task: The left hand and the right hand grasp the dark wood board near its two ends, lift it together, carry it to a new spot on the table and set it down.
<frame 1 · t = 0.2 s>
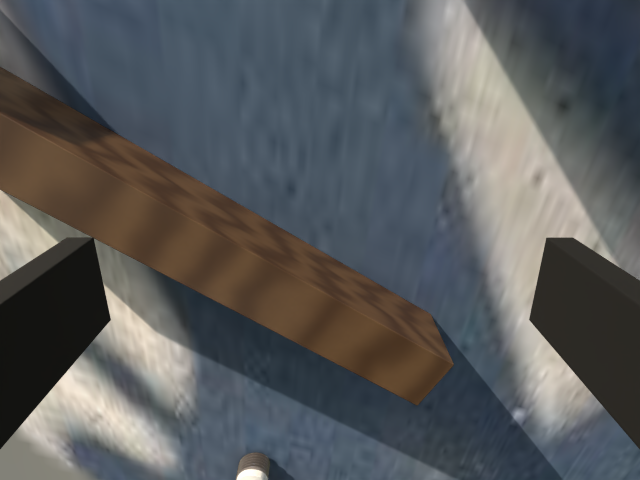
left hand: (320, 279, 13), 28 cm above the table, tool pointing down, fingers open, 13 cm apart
light bulb: (255, 463, 53), on the table
board: (171, 196, 40), on the table
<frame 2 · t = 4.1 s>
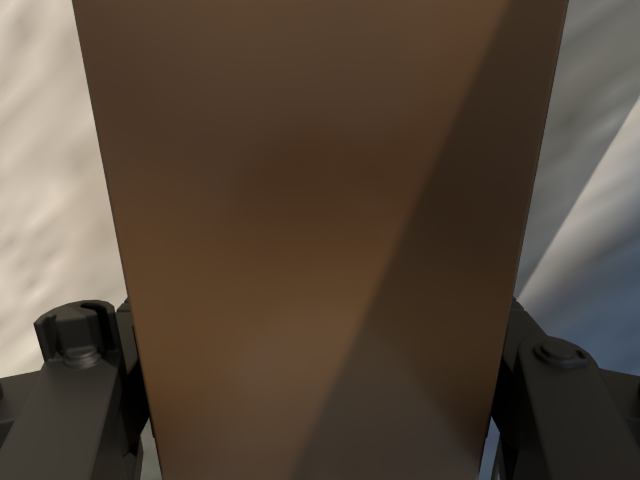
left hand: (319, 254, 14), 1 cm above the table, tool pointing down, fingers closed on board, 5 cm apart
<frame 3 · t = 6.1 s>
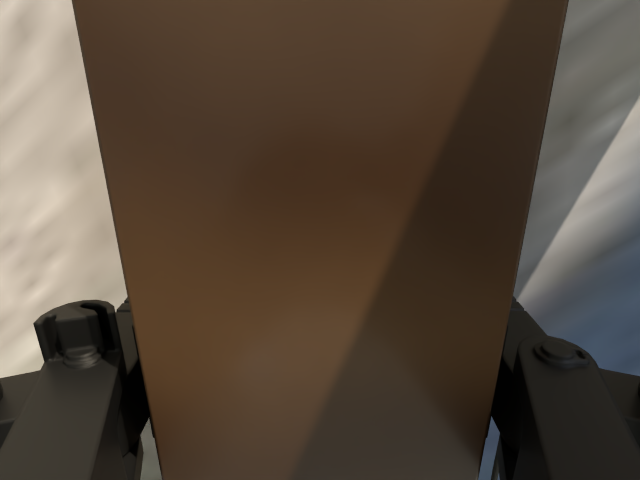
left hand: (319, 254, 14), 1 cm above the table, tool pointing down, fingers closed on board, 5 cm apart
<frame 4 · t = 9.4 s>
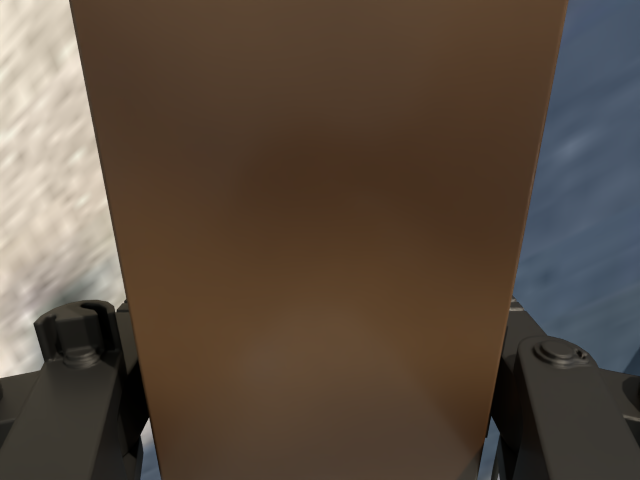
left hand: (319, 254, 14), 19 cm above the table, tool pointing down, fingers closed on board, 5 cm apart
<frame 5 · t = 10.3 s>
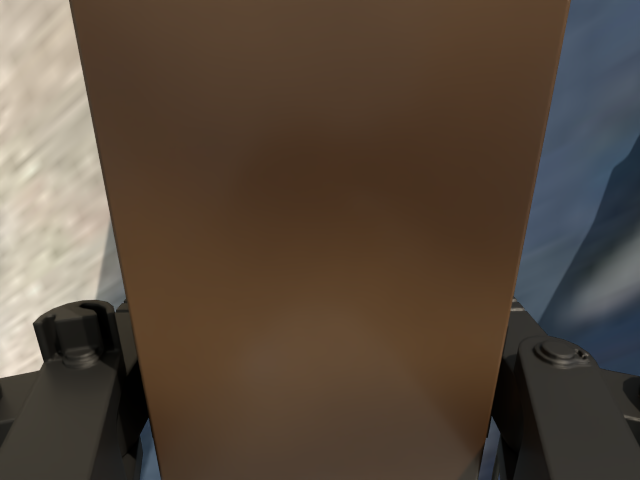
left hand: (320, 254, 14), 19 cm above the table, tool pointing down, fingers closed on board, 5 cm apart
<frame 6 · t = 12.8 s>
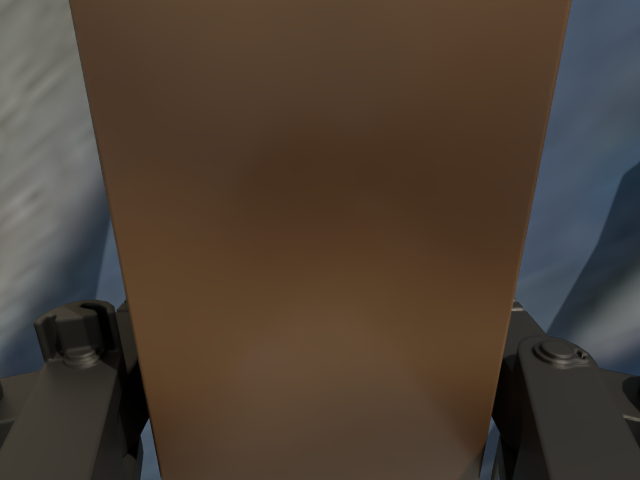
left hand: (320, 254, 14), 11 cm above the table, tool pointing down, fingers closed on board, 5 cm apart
when the left hand's fingers open (2 cm above the table, at t = 14.8 s): board drops 1 cm, on the table.
when the right hand's fingers open (2 cm above the table, at t = 14.8 s): board drops 1 cm, on the table.
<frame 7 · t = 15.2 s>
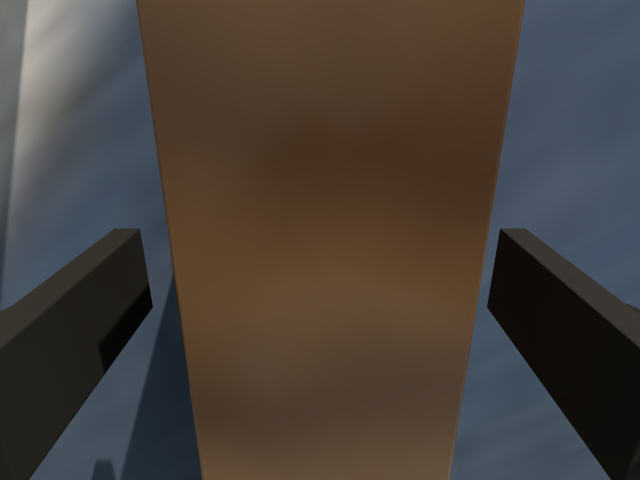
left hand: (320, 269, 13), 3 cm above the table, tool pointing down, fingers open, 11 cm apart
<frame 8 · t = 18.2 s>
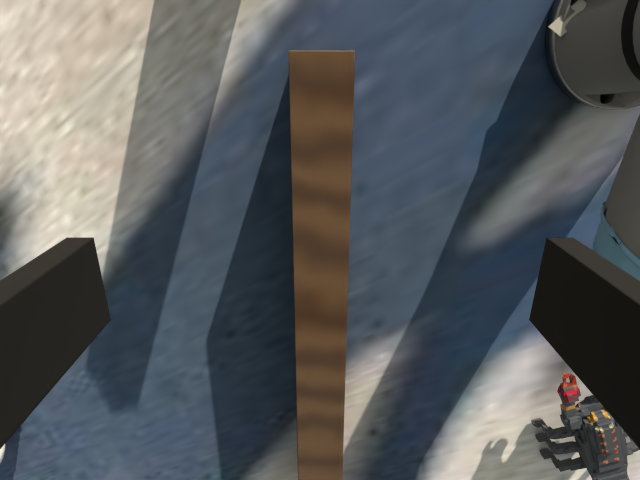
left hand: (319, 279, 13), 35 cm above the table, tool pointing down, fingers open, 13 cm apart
toy: (584, 414, 59), on the table
light bulb: (6, 419, 60), on the table
board: (320, 306, 53), on the table
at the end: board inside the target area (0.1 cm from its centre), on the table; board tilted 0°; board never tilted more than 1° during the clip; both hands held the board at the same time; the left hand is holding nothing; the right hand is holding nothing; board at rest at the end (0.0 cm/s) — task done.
